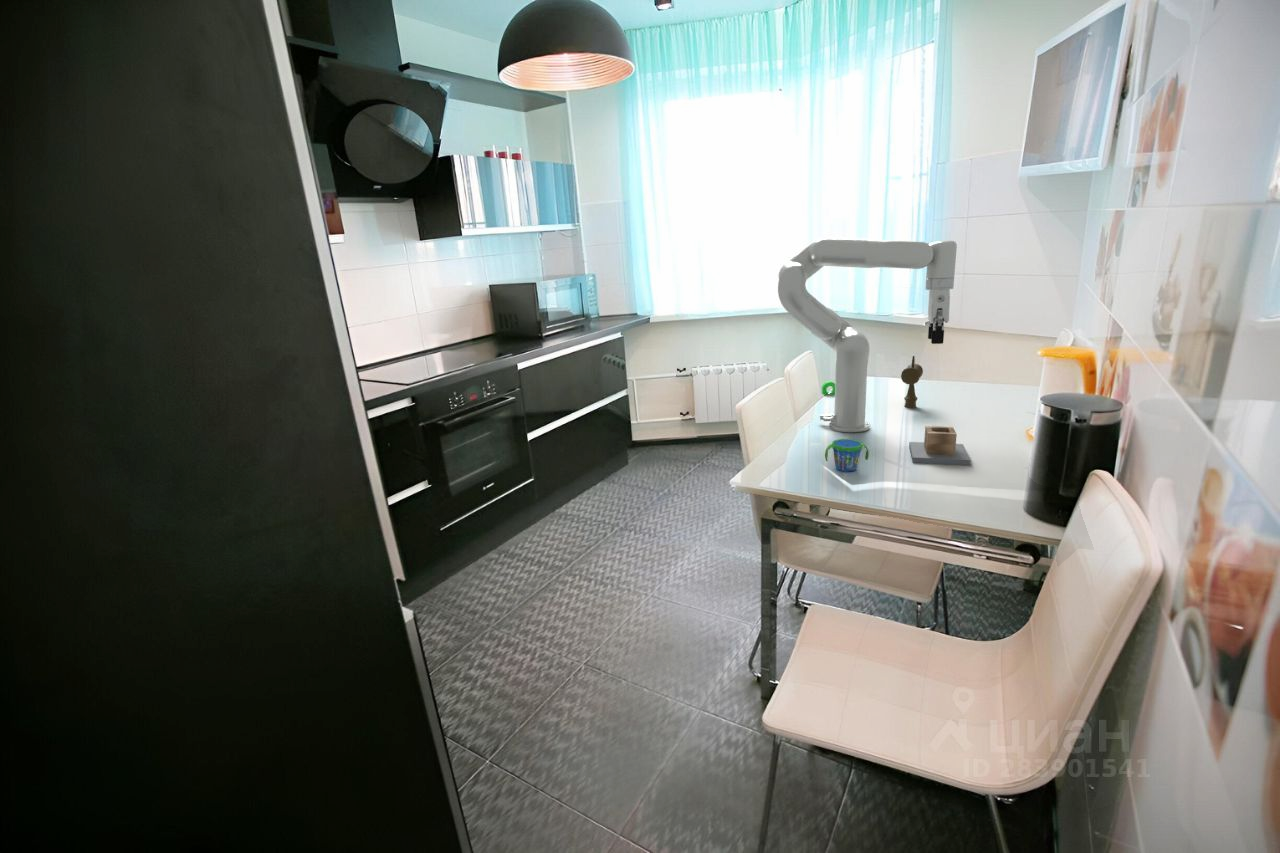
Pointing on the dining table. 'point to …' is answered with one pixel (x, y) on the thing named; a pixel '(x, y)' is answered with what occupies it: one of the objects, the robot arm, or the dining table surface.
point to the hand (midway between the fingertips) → (935, 341)
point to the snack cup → (846, 454)
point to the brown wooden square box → (940, 440)
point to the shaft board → (938, 455)
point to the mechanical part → (827, 384)
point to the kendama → (911, 382)
